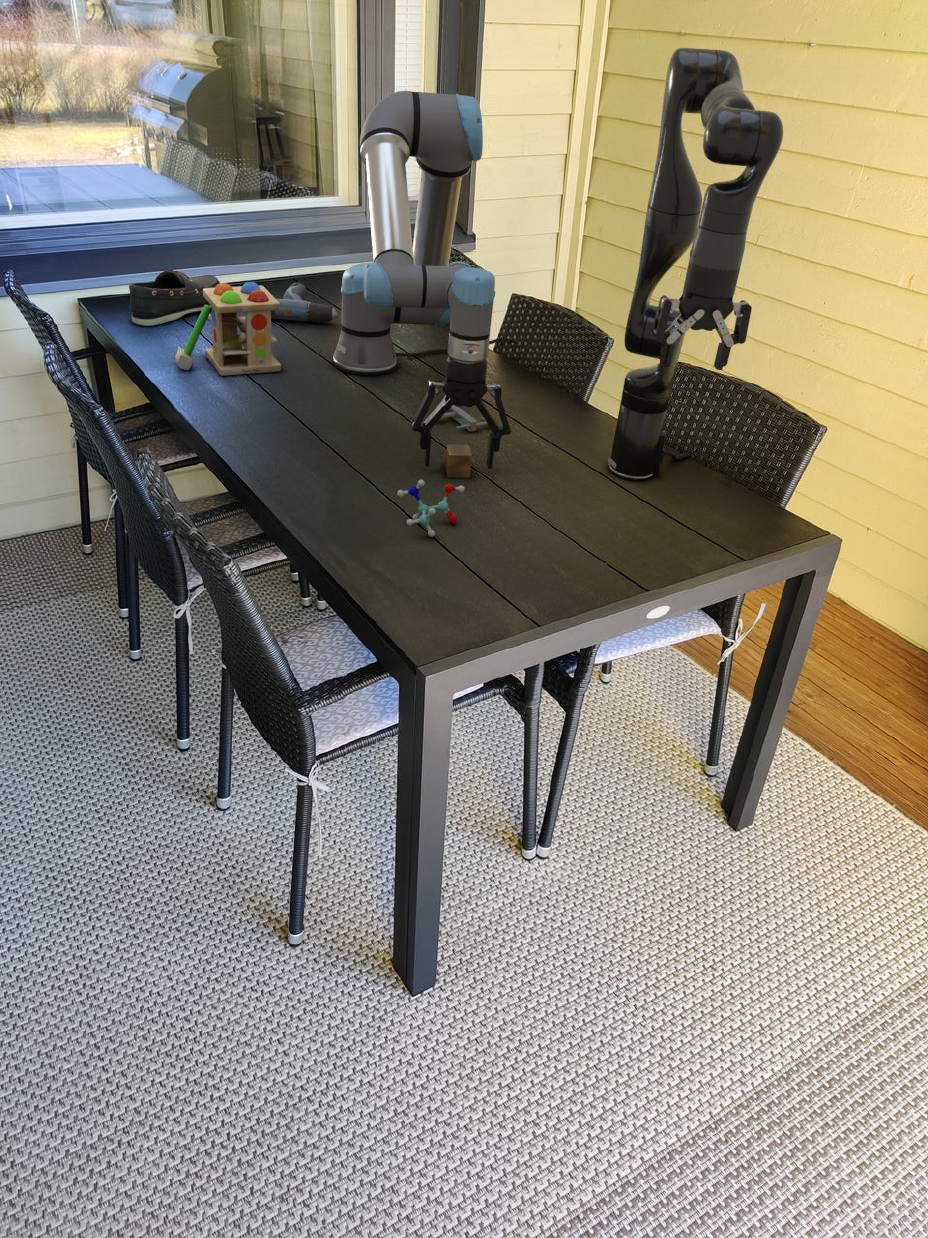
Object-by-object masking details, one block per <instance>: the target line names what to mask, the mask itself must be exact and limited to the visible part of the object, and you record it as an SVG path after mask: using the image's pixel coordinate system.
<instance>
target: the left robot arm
mask: <svg viewBox="0 0 928 1238" xmlns="http://www.w3.org/2000/svg"><path fill="white" fill-rule="evenodd" d="M483 147H484V132H483V118H482V110H481V106H480V103H479V101H478V99H477V98H475V97H474V96H471V95H463V94H459V93H455V94H449V93H440V92H439V93H437V92H426V91H423V92H422V91H411V90H399V91H395V92H392V93H389V94H388V95H387V96H385V97H383V98H382V99H381V100H379V102H377V103H376V104H375V106H374V107H373V108H372V109H371V111H370V112H369V113H368V115H367V117H366V119H365V121H364V123H363V125H362V128H361V133H360V137H359V149H360V150H359V151H360V152H359V153H360V159H361V161H362V163H363V164H364V165H365V166H366V175H367V187H368V188H367V190H368V192H367V193H368V204H369V205H368V206H369V219H370V232H371V249H372V262H371V261H370V262H364V263H363V262H362V263H358V264H355V265H352V266H350V267H348V268H346V269H345V271H344V272H343V274H342V281H341V287H340V293H341V320H340V321H341V324H340V325H341V326H340V329H341V330H340V336H339V338H338V341H337V344H336V348H335V350H334V352H333V361H332V362H333V363H332V364H333V366H334V367H335V368H337V369H338V370H339V371H342V372H344V373H347V374H352V375H356V376H380V375H381V376H382V375H386V374H389V373H391V372H393V371H395V369H396V368H397V361H398V359H397V357H405V358H406V357H407V358H413V357H421V356H425V355H429V354H435V353H447V355H448V356H447V357H446V366H445V367H446V368H445V378H444V380H443V382H435V381H434V380H433V379H430V380H428V382H427V390H426V393H425V395H424V396H423V399H422V401H421V403H420V405H419V407H418V409H417V411H416V413H415V415H414V417H413V419H412V421H411V430H412V431H413V432H418V433H419V434H420V436H419V447H420V450H424V458H423V461H424V467H425V468H429V467H430V459H431V458H430V457H431V446H432V445H431V444H432V432H431V430H432V429H433V428H434V426H435V425H436V424H437V423H438V422H439V421H440V420H439V419H440V418H441V417H442V416H443V415H444V414H445V412H446V411H447V410H449V409H450V408H451V407H452V406H453V405H455V406H456V407H459V408H461V407H466V408H473V407H474V406H475V407H476V409H477V411H479V413H480V414H481V417H482V416H483V417H484V419H485V420H486V422H487V423H488V425H489V426H488V427H489V428H490V430H491V431H490V432H489V437H488V445H487V453H486V455H487V456H486V466H487V469H488V470H493V463H494V455H495V453H499V451H500V447H501V439H502V437H503V436H505V435H508V436H509V435H510V434H511V433H512V429H511V427H510V424H509V419H508V417H507V414H506V410H505V407H504V404H503V401H502V394H503V393H502V391H503V390H502V386H501V384H500V383H499V382H495V383H494V384H487V382H486V381H487V380H486V379H487V371H488V361H487V359H488V357H489V347H490V345H493V344H496V343H498V342H502V341H509V342H510V343H513V342H512V341H510V340H508V339H504V340H502V337H503V336H500V337H501V338H500V337H497V338H494V339H492V340H490V337H491V328H492V320H493V319H492V318H493V310H494V301H495V297H496V289H495V288H496V287H495V286H496V277H495V275H494V274H493V273H492V272H491V271H489V270H487V269H484V268H481V267H472V266H471V265H470V264H469V263H467V262H464V261H462V260H461V261H460V260H459V261H453V262H450V260H451V259H450V258H451V253H452V252H451V251H452V245H453V239H454V233H455V232H454V231H455V225H456V219H457V213H458V212H457V211H458V204H459V199H460V193H461V186H462V180H463V179H462V178H463V177H466V175H468V174H469V172H470V171H471V169H472V162H479V161H480V160H481V159H482V157H483V149H484V148H483ZM410 157H413V158H415V164H416V166H417V167H418V169H420V170H421V172H420V181H419V189H418V190H419V191H418V198H417V206H416V207H417V208H416V216H415V223H414V224H415V225H414V231H413V232H414V234H413V236H412V226H411V214H410V201H409V191H408V190H409V189H408V179H407V168H406V166H407V165H406V164H407V162H408V161H409V158H410ZM412 237H413V238H412ZM391 324H393V325H394V324H397V325H423V326H424V325H426V326H431V327H432V326H436V325H437V326H440V325H447V324H449V329H448V341H447V348H445V347H444V348H443V347H442V348H441V347H440V348H433V349H428V350H423V351H419V352H395V347H394V343H393V341H392V337H391V336H392V335H391ZM499 338H500V340H499ZM440 391H443V393H444V395H445V396H444V397H443V398H442V400H441V402H440V403H439V404H438V405H437V406H436V407H435V409H434V410H433V411H431V413H430V414H429V416H427V413H428V411H429V410H430V407H431V405H432V404H433V401H434V399H435V396H437V395H439V393H440ZM487 393H489V396H490V397H492V398H493V400H494V402H495V406H496V409H497V412H498V415H499V417H500V418H499V419H500V422H501V425H502V426H499V425H498V423H497V421H496V420H495V418H494V417H493V415H492V414H491V412H490V411H489V409H488V408H487V406H486V404H485V403H484V400H482V398H483V397H484V396H485V395H486V394H487ZM426 416H427V418H426V419H425V417H426ZM424 419H425V420H424Z"/></svg>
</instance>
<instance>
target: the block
mask: <svg viewBox="0 0 928 1238" xmlns="http://www.w3.org/2000/svg"><path fill="white" fill-rule="evenodd" d="M445 451H446V452H445V462H444V463H445V464H444V465H445V472H446V476H447V478H462V479H463V478H464V479H465V478H466V479H467V478H468V479H470V478H471V469H472V459H473V458H472V457H473V455H472V452H471V451H472V450H471V446H470V445H469V444H446V450H445Z"/></svg>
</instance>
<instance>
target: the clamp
mask: <svg viewBox="0 0 928 1238" xmlns="http://www.w3.org/2000/svg"><path fill="white" fill-rule="evenodd" d="M449 418H452V419H453V420H455V421H456V422H457V423H458V424H460V425H457V426H455V429H456V430H459V429H460V430H461V429H462V430H463V429H467V431H469V432H475V431H477V427H483V426H485V427H489V425H488V423H487V422H486V420H485V419H484V417H483V416H482V415H481V417H480V420H481V421H480V422H479V421H478V420H476V419H475V418H474V417H472V416H471V415H470V414H468V413H467V412H466V411H464V410H463V409H462V408H461V407H456V406H455V405H453V406H452V407H451V408H450V409H449V410H447V411H446V412H445V414H444V415H443V416H442V417H441V418H440V419H439V421H443V420H447V419H449Z"/></svg>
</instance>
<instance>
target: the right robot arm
mask: <svg viewBox="0 0 928 1238" xmlns="http://www.w3.org/2000/svg"><path fill="white" fill-rule="evenodd" d="M684 114H694V115H695V114H699V115H700V122H701V124H702V127H703V128H704V133H703V140H702V149H703V154H704V156H705V158H706V159H707V160H708V161H710V162H712V163H713V164H718V165H725V166H738V167H745V168H744V169H743V171H742V172H741V173H740V174H739V175H738V176H737V177H735V178H733V179H730V180H724V181H717V182H713V183H711V184H709V185H708V186H707V188H706V189H705V192H704V196H703V193H702V190H701V186H700V184H699V181H698V178H697V175H696V173H695V170H694V168H693V166H692V163H691V162H690V159H689V156H688V153H687V149H686V147H685V142H684V138H683V126H682V122H683V116H684ZM783 141H784V125H783V121H782V119H781V117H780V116H779V115H778V114H777V113H776V112H774V111H770V110H761V109H759V110H757V109H756V108H755V106H754V104H753V103H752V101H751V99H750V98H749V97H748V96H747V94H746V93H745V90H744V83H743V77H742V74H741V69H740V65H739V62H738V59H737V57H736V56H735V55H734V54H733V53H732V52H730V51H728V50H724V49H710V48H696V47H680V48H676V50H674V51H673V53H672V54H671V56H670V59H669V63H668V65H667V71H666V76H665V84H664V92H663V100H662V110H661V119H660V128H659V136H658V146H657V152H656V153H657V154H656V159H655V165H654V169H653V170H654V171H653V175H652V181H651V186H650V192H649V197H648V201H647V207H646V212H645V213H646V214H645V218H644V219H645V220H644V226H643V233H642V235H643V236H642V242H641V249H640V257H639V264H638V270H637V275H636V281H635V286H634V289H633V292H632V297H631V301H630V307H629V312H628V315H627V316H628V317H627V320H626V321H627V322H626V325H625V326H626V327H625V332H624V348H625V350H626V351H627V352H628V353H631V354H634V355H639V356H642V357H646V358H647V357H648V358H652V359H656V360H659V363H657V364H655V365H652V366H647V367H639V368H635V369H633V370H630V371H629V372H627V374H626V375H625V377H624V381H623V387H622V393H621V398H620V405H619V408H618V409H619V410H618V415H617V421H616V425H615V430H614V436H613V442H612V448H611V453H610V456H608V460H607V463H608V466H607V467H608V470H609V471H610V473H611V474H613V475H615V476H617V477H618V478H621V479H625V480H631V481H645V480H651V478H658V474H659V470H660V465H663V463H664V458H665V456H670V457H671V459H672V460H674V461H679V460H683V459H686V458H689V457H690V453H689V452H683V453H679V454H676V453H675V452H674V451H672V450H666V449H665V448H664V446H665V441H666V437H667V432H666V431H665V430H664V427H665V423H666V417H667V414H668V413H667V412H668V407H669V403H670V398H671V394H672V390H673V385H674V384H673V383H674V380H675V376H676V375H675V374H676V371H677V366H678V362H679V358H680V354H681V351H682V347H683V344H684V341H685V336H686V333H687V332H688V330H690V329H691V330H692V331H701V330H704V331H707V332H713V330H715V331H716V332H717V334H718V336H719V338H720V340H721V341H720V342H719V343H718V345H717V350H716V353H715V358H714V363H713V367H714V368H715V369H716V370H717V371H722V370H723V369H724V367H726V366H727V365H728V362H729V358H730V355H731V349H732V347H733V346H735V345H739V344H740V345H743V344H744V343H746V341H747V335H748V330H749V325H750V320H751V315H752V310H753V309H752V305H750V303H749V302H747V301H746V300H743V299H741V300H740V301H739V302H734V301H733V299H734V295H735V292H736V288H737V284H738V280H739V275H740V271H741V266H742V263H743V259H744V255H745V250H746V244H747V243H746V241H747V234H748V230H749V226H750V221H751V218H752V217H751V216H752V212H753V208H754V204H755V201H756V198H757V196H758V194H759V191H760V189H761V187H762V185H763V182H764V181H765V178H766V177H767V174H768V173H769V171H770V169H771V168H772V165H773V163H774V162H775V159H776V158H777V156H778V154H779V151H780V150H781V147H782V143H783ZM690 248H691V249H690ZM689 249H690V251H689V260H688V265H687V269H686V273H685V279H684V283H683V289H682V293H681V296H680V297H679V299H678V298H669V297H668V296H667V295H662V296H661V297H660V298H659V301H658V305H652V304H651V301H652V300H651V299H652V296H653V293H654V291H655V290H656V288H657V286H658V285H659V283H660V282H661V281H662V279H664V277H665V276H666V274H667V273H668V272H669V271H670V270H671V269H672V268H673V266H674V265H675V264H676V263H678V261H679V260H681V258H682V257H683V256H684V254H685V253H686V252H688V250H689ZM677 309H678V310H677ZM732 313H733V314H734V316H735V321H734V328H733V333H730V330H729V328H728V326H727V324H726V321H725V320H726V319H727V318H728V317H729V316H730V315H731V314H732Z"/></svg>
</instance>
